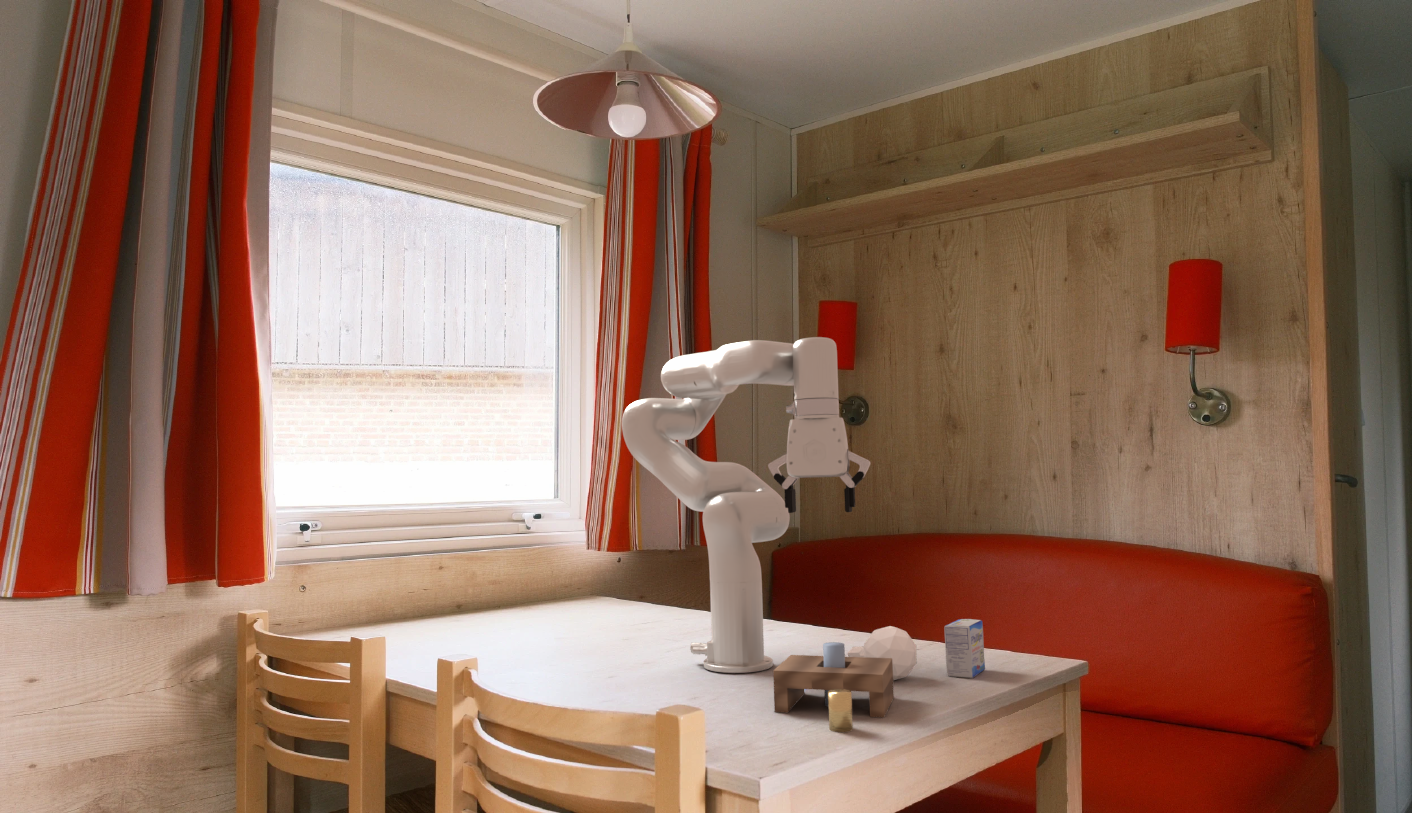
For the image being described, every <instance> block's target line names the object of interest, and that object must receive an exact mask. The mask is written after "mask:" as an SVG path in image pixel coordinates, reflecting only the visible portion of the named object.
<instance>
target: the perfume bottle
mask: <svg viewBox="0 0 1412 813" xmlns="http://www.w3.org/2000/svg"><path fill="white" fill-rule="evenodd" d="M917 648H918V647H917V645H916V643H915V641H914V640H913V638H912V637H911V636H910V635H909V634H908V632H907V631H906V630H903V629H902V628H898V627H895V626H891V625H889V626H885V627H881V628H877V629H874V630H873V631H872V632H871V633H870V635H869V637H868V638H867V639H866V641H865V642H864V643H863V646H852V648H850V650H849V651H847V655H848V656H847V657H869V658H892V665H893V681H895V680H900V679H903V678H907V677H908V676H909V674H910V673H911V671H912V670H913V669H914V667H916V665H917V663H918V661H917V660H918V659H917V658H918V657H917V650H918V649H917Z"/></svg>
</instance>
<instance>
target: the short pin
mask: <svg viewBox="0 0 1412 813" xmlns="http://www.w3.org/2000/svg"><path fill="white" fill-rule="evenodd" d="M852 692H853V691H850V690H845V689H834V690H829V691H828V706H827V708H828V728H829V731H830V732H834V733H848V732H852V731H853V729H854V727H853V726H854V725H853V720H854V719H853V698H852V697H853V696H852V695H853V694H852Z"/></svg>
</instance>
